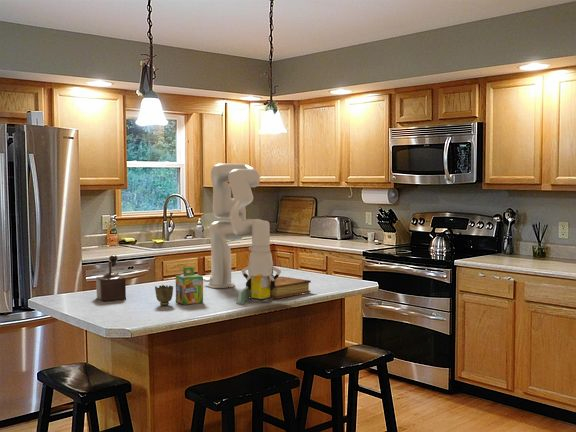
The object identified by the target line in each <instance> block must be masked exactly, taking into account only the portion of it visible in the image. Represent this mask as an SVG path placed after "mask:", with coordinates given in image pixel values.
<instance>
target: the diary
mask: <svg viewBox="0 0 576 432" xmlns="http://www.w3.org/2000/svg"><path fill="white" fill-rule="evenodd" d="M310 284H311V280H308V279H303V278H294V277H288V276H279V277H278V278H277V279H276V280H275V288H274V289H273V290H271V279H270V298H274V299H281V298H288V297H293V295H294V296H299V295H298V294H300V295H303V294H302V293H306V292H311V290H310V287H309V286H310ZM245 287H247V281H246V282H245ZM306 294H307V293H306Z"/></svg>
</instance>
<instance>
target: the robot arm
mask: <svg viewBox="0 0 576 432" xmlns="http://www.w3.org/2000/svg"><path fill="white" fill-rule="evenodd" d="M210 181H211V185H212V214H213V216H214V217H215V218H217V219H229V220H216V221H213V222H211V223H210V224H209V227H208V233H209V239H210V251H211V252H210V257H211V260H210V261H211V262H210V263H211V264H210V265H211V268H210V269H211V270H210V271H211V276H210V277H204V276H203V283H204V282H205V283H208V286H207V287H209V288H213V289H227V288H228V287H229V288H233V287H235V286H236V285H235V283H234V282H233V281H232V250H231V249H232V248H231V247H230V245H229V243H227V241H236V240H237V241H238V240H242V239H243V238H244V237H245V238H246V237H249V238H250V237H251V246H248V250H249V251H251V252H250V253H249V258H248V266H245V267H244V268H241V270H240V272H241V273H242V275H243V278H245V279H246V282H247V287H249V290H250V289H251V277H252V276H254V277H255V276H257V275H263V277H270V279H271V290H273V289H274V288H275V280H276V279H277V278H278V277H280V274H281V272H282V269H279V268H277V267H276V266H274V261H273V256H272V255H273V254H272V252H271V248H270V247H271V246H270V245H271V243H270V236H271V235H270V234H271V233H270V232H271V231H270V228H271V227H270V222H269V221H268V220H263V219H260V218H253V219H251V218H246V216H247V215H246V214H247V213H246V207H247V206H248V205H250V204H251V203H253V200H254V195H253V191H252V189H251V188H256V187H258V186H259V184H260V181H261V178H260V174H259V172H258V170H257V169H255V168H254V167H252V166H250V165H249V164H246V163H216V164H215V165H213V166H212V168H211V170H210ZM228 182H229V183H228ZM232 197H233V198H232ZM247 271H248V272H247ZM274 272H276V274H275V275H274ZM234 285H235V286H234Z"/></svg>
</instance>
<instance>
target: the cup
mask: <svg viewBox="0 0 576 432" xmlns="http://www.w3.org/2000/svg"><path fill="white" fill-rule="evenodd" d="M154 289H155V297H156V300H157V301H158V302H159V305H160V306H162V307H167V306H169V304H170V303H169V302H171V300H172V298H173V295H174V285H171V284H170V285H169V286H168V285H164V284H162V285H159V286H157V285H156V286H154Z"/></svg>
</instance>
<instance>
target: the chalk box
mask: <svg viewBox="0 0 576 432" xmlns="http://www.w3.org/2000/svg"><path fill="white" fill-rule="evenodd" d="M187 271H190V273H188V272H187ZM194 271H195V270H194V267H192V266H189V267H183V268H182V272H183V273H182V274H176V275H175V303H178V304H181V305H183V306H186V305H196V304H204V281H203V278H204V276H203V275H200V274H196V273H195V272H194Z"/></svg>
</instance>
